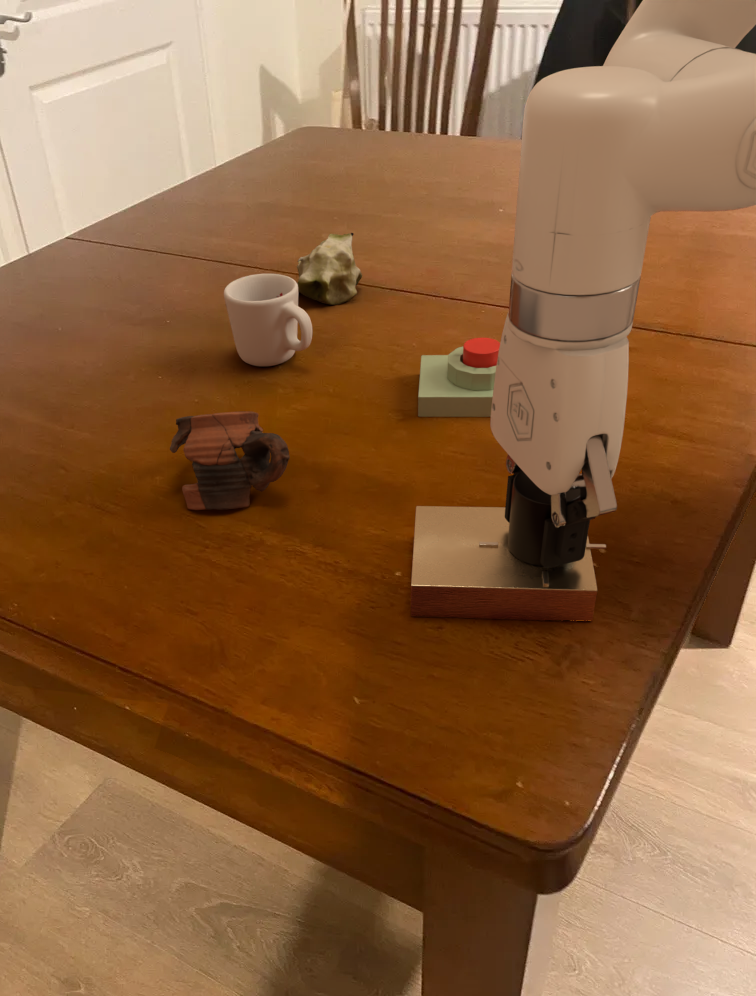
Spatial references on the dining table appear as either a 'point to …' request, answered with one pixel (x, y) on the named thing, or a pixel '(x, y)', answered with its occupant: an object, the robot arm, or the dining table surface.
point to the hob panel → (490, 571)
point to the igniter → (454, 387)
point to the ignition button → (481, 352)
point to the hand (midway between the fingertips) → (543, 537)
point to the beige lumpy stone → (329, 271)
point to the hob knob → (530, 518)
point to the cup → (266, 318)
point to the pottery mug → (228, 458)
